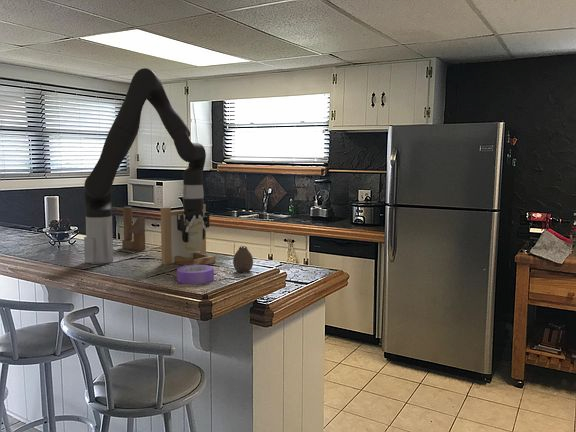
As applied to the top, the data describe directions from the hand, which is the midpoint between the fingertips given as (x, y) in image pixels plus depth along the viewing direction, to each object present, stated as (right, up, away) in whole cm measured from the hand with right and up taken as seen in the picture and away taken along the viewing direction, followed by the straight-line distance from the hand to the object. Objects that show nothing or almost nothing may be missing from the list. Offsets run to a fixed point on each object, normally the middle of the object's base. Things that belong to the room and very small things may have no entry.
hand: (194, 240), depth 186 cm
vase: (+20, -10, -14) cm, 26 cm away
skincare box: (0, -4, 0) cm, 4 cm away
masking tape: (+5, -12, -25) cm, 28 cm away
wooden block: (-31, -5, +28) cm, 42 cm away
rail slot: (0, -8, 0) cm, 8 cm away
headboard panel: (-4, -8, +5) cm, 10 cm away
